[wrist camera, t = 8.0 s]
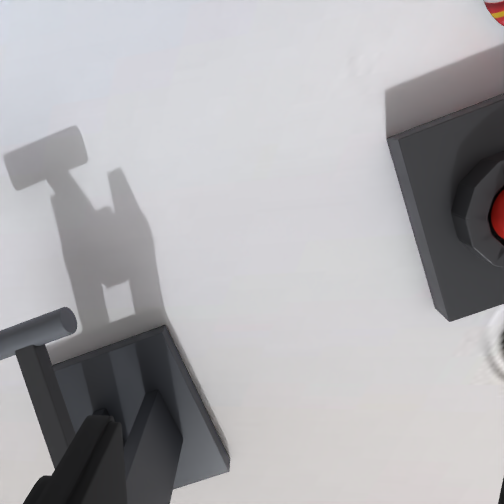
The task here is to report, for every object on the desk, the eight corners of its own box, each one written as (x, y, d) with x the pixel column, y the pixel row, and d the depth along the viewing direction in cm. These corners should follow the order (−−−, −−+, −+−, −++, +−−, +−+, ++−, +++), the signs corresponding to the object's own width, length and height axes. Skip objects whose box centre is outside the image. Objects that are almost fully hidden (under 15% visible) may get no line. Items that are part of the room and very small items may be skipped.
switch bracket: (49, 366, 30) (-71, 507, 19) (165, 324, 30) (112, 446, 18) (123, 494, 34) (57, 681, 22) (230, 459, 33) (219, 635, 21)
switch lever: (-5, 334, 24) (-38, 343, 21) (76, 304, 23) (51, 309, 21) (73, 563, 23) (47, 598, 21) (157, 537, 23) (141, 570, 20)
